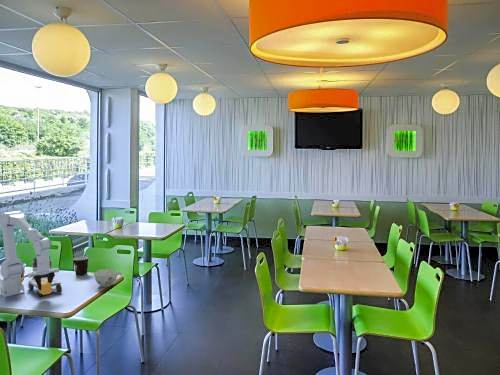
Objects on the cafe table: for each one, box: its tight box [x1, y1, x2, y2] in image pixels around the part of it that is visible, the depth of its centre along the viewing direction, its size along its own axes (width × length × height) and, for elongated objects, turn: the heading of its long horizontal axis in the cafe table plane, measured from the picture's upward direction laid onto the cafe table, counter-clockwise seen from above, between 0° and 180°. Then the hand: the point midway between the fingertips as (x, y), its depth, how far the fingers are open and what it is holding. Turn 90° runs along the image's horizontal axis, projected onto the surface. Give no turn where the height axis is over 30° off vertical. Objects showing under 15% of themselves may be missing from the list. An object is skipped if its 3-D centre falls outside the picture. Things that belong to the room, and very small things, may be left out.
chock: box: [39, 281, 52, 296], centre depth 218 cm, size 4×6×5 cm, turn 44°
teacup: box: [93, 268, 123, 288], centre depth 240 cm, size 15×12×8 cm
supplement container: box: [31, 255, 53, 278], centre depth 259 cm, size 10×10×12 cm
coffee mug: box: [72, 256, 89, 277], centre depth 262 cm, size 12×9×10 cm
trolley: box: [27, 277, 63, 298], centre depth 231 cm, size 11×20×5 cm, turn 44°
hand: (44, 288), depth 218 cm, fingers closed on chock, 4 cm apart
